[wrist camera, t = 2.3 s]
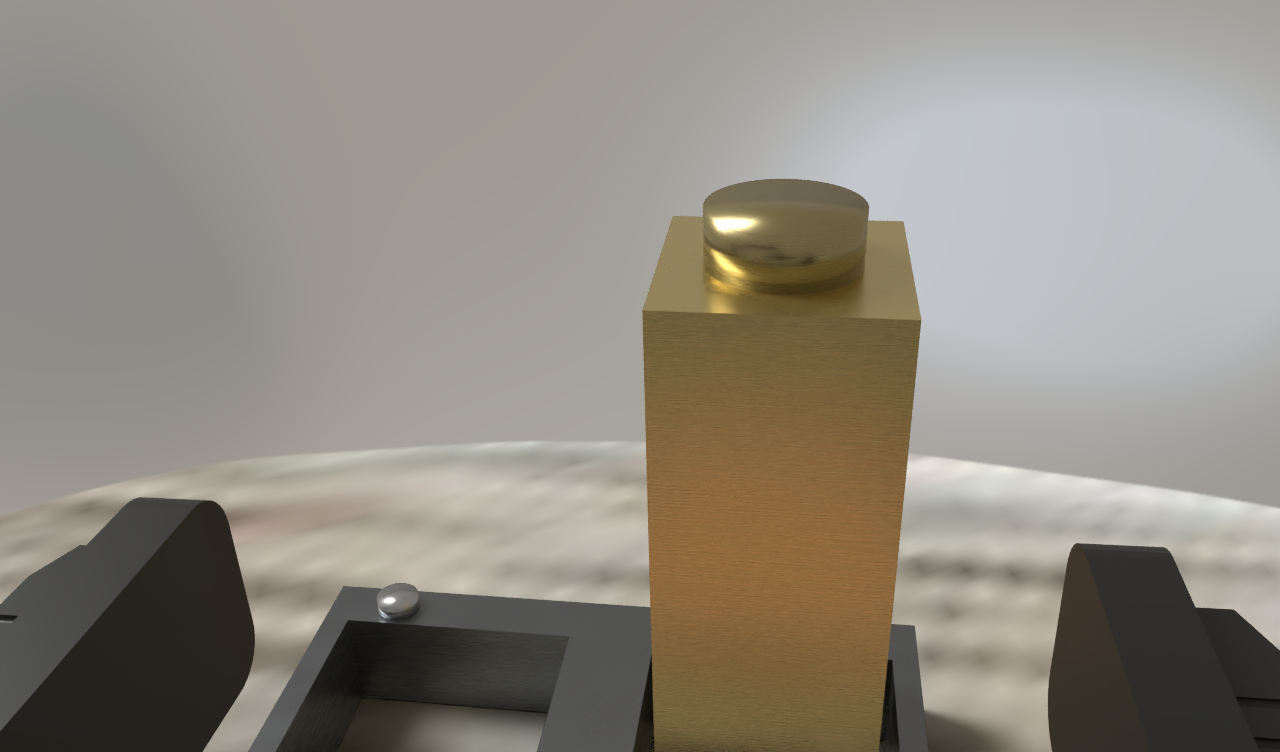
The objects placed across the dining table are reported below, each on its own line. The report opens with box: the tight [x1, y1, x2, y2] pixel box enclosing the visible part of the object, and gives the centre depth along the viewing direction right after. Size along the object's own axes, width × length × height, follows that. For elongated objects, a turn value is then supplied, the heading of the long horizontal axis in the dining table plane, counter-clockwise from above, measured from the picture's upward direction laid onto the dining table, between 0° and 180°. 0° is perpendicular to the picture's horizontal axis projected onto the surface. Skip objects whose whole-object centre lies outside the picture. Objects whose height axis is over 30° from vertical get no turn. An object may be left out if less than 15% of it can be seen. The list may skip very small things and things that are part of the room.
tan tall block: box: [642, 179, 921, 752], centre depth 26 cm, size 5×5×17 cm
